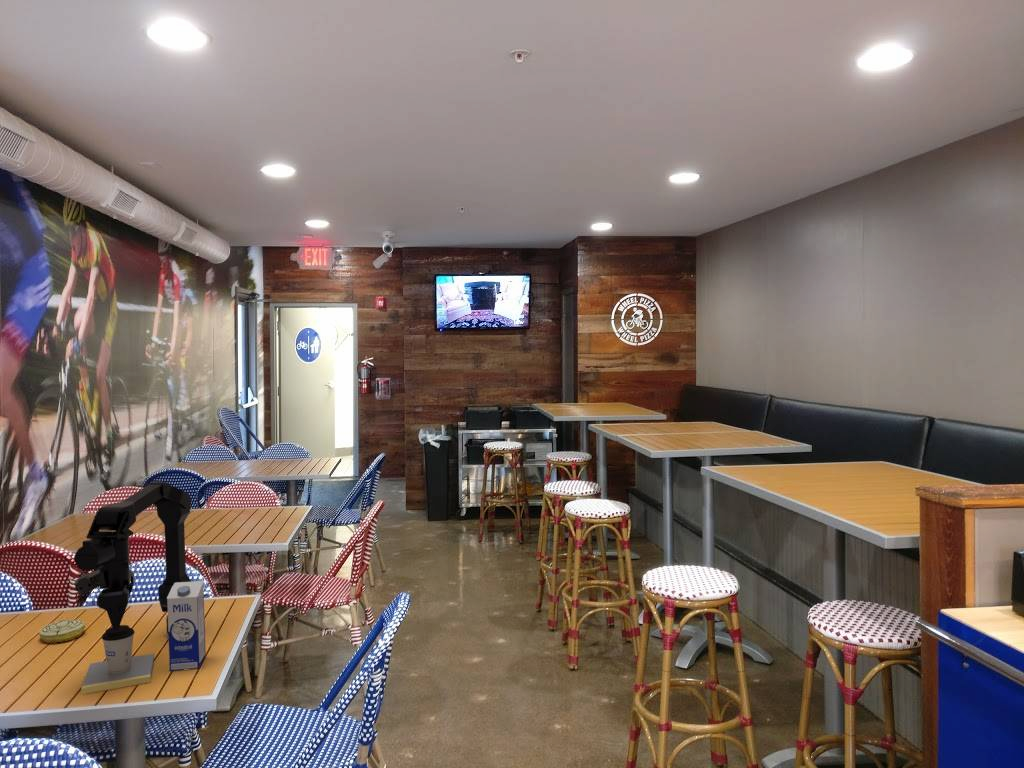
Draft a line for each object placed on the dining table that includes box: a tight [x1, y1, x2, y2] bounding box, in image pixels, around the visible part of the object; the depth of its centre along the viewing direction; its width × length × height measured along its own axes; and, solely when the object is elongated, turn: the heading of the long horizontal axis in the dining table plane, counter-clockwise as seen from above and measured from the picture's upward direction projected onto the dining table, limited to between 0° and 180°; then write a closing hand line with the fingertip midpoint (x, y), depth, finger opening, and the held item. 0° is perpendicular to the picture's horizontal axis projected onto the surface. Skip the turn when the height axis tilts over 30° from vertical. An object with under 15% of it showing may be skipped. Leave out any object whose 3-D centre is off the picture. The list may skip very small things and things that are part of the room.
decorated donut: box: [38, 619, 86, 644], centre depth 195 cm, size 10×11×4 cm
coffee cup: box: [101, 624, 136, 674], centre depth 170 cm, size 7×7×10 cm
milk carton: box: [167, 580, 206, 672], centre depth 176 cm, size 7×7×20 cm
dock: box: [81, 653, 155, 695], centre depth 171 cm, size 14×14×2 cm
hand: (117, 622), depth 170 cm, fingers open, 9 cm apart
